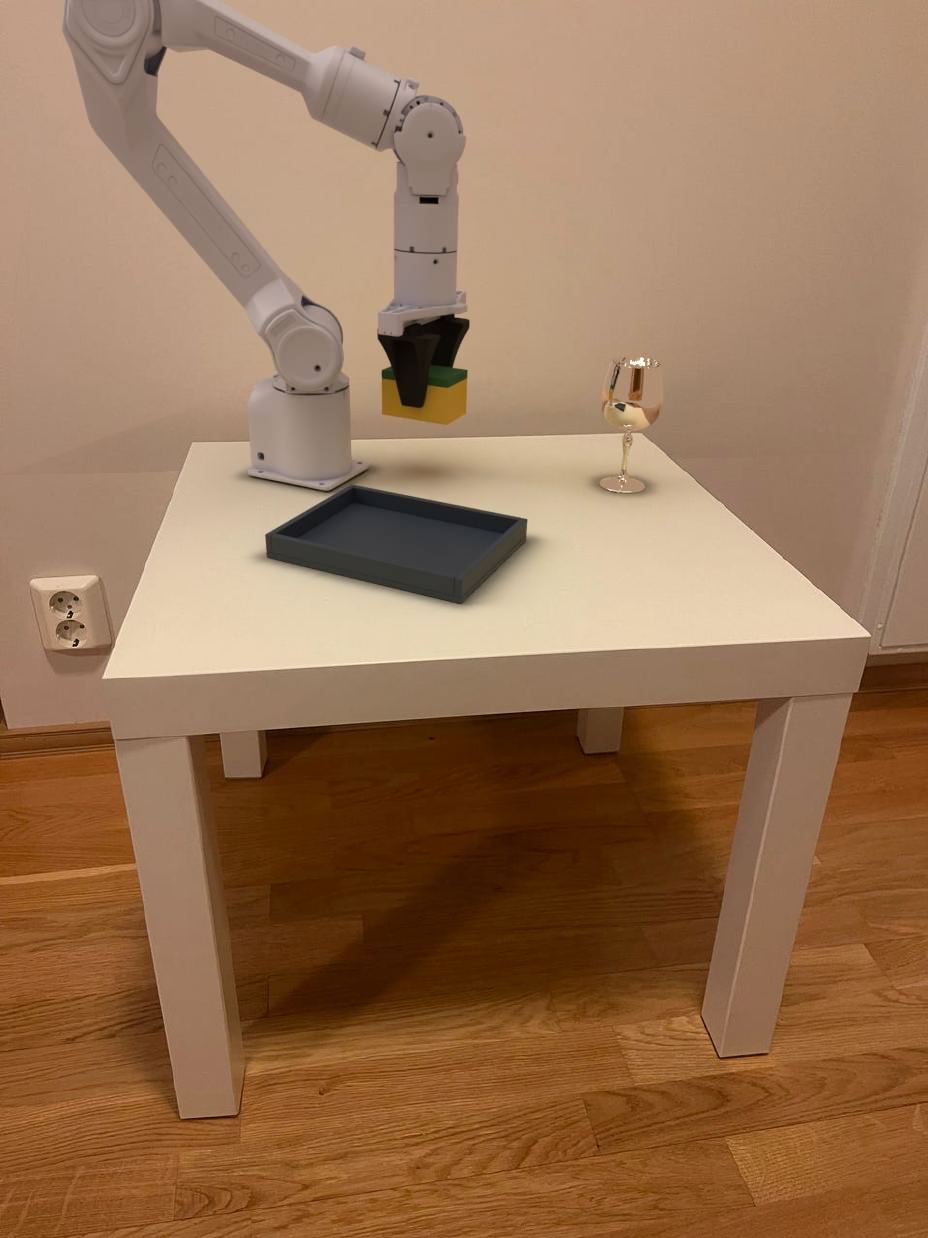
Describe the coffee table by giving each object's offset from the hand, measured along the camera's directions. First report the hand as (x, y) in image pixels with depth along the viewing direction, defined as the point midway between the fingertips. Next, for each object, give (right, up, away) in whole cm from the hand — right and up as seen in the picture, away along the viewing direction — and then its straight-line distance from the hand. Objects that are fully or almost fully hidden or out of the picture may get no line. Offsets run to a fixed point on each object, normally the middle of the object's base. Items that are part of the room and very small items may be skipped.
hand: (423, 399), depth 88 cm
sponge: (0, -1, +1) cm, 1 cm away
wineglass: (+20, -8, +2) cm, 21 cm away
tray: (-1, -15, -13) cm, 20 cm away
